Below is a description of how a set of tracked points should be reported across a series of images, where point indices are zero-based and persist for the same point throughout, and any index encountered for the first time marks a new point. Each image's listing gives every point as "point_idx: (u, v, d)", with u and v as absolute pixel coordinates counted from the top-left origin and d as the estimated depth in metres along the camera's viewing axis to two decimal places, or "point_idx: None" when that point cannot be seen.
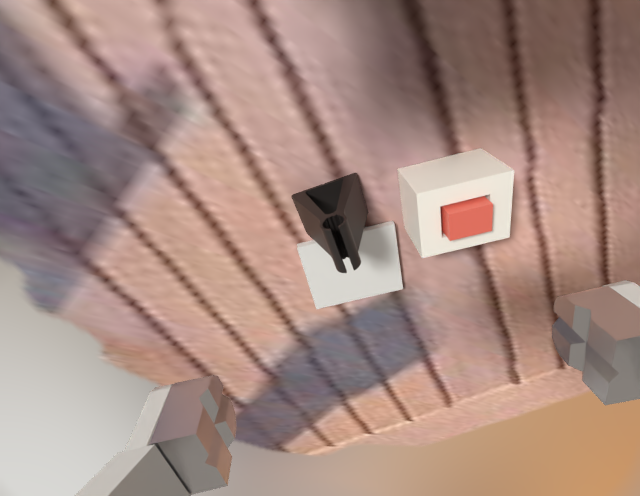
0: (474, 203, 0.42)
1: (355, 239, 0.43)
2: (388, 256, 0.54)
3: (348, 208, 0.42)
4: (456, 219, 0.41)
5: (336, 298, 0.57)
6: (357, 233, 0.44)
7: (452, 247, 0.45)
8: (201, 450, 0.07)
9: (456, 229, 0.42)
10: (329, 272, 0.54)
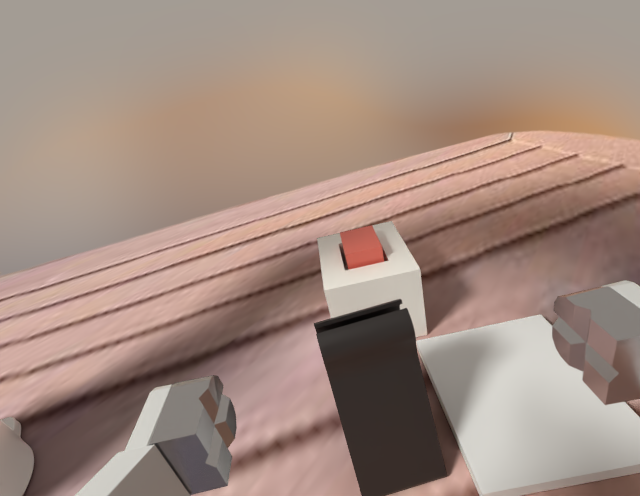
0: (343, 247, 0.39)
1: None
2: (476, 340, 0.34)
3: None
4: (353, 248, 0.36)
5: (612, 411, 0.26)
6: None
7: (403, 250, 0.37)
8: (201, 450, 0.07)
9: (366, 245, 0.36)
10: (537, 426, 0.26)
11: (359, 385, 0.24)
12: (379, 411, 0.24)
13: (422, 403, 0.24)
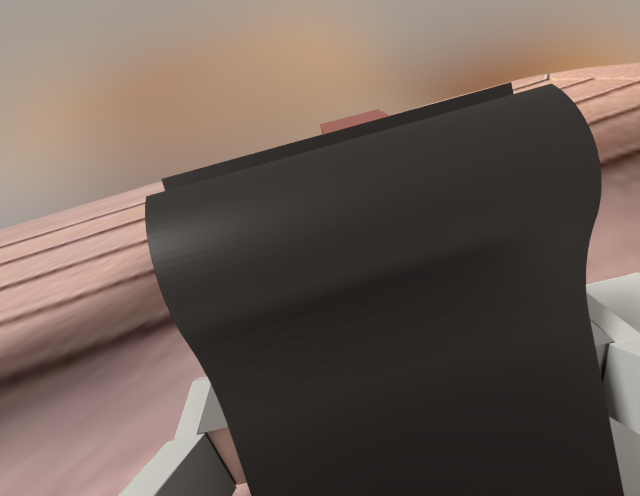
0: None
1: None
2: (606, 303, 0.16)
3: None
4: None
5: None
6: None
7: None
8: None
9: None
10: None
11: (349, 425, 0.06)
12: None
13: (597, 490, 0.06)
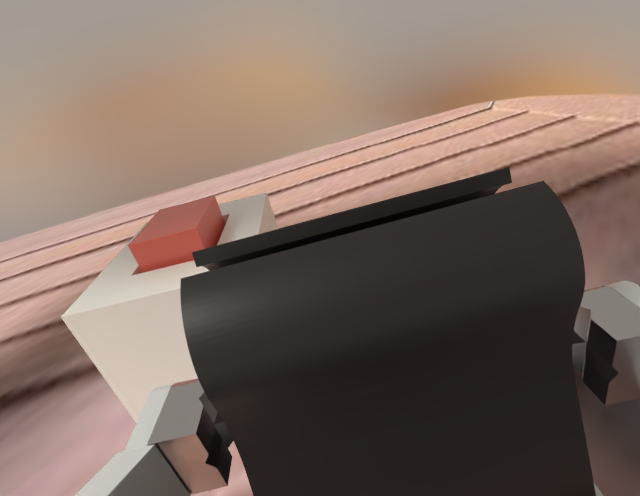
0: None
1: None
2: None
3: None
4: (150, 234, 0.19)
5: None
6: None
7: (248, 236, 0.20)
8: (201, 450, 0.07)
9: (174, 228, 0.19)
10: None
11: (354, 476, 0.06)
12: None
13: None
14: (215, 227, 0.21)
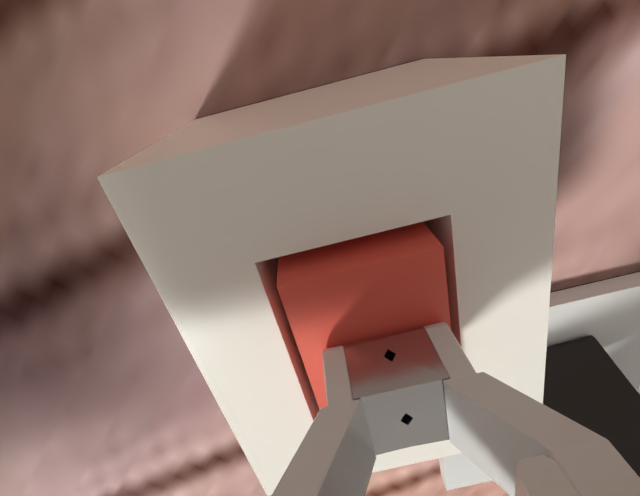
0: None
1: None
2: None
3: None
4: None
5: None
6: None
7: (527, 350, 0.10)
8: (402, 406, 0.07)
9: None
10: None
11: None
12: None
13: None
14: None
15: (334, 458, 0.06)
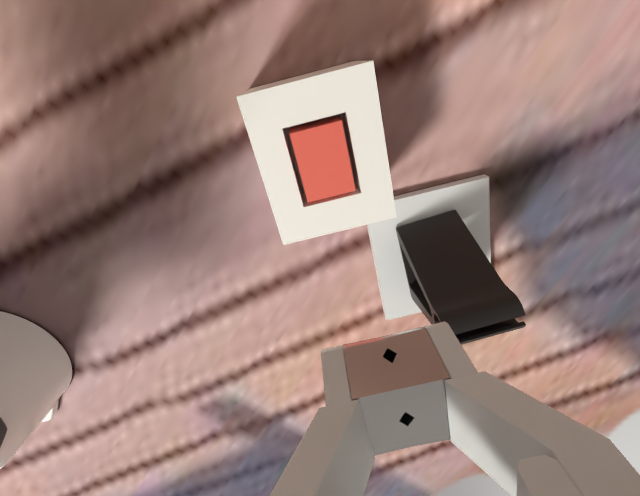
0: None
1: (480, 280, 0.30)
2: (419, 208, 0.36)
3: (431, 283, 0.31)
4: (316, 188, 0.26)
5: None
6: (474, 267, 0.31)
7: (382, 170, 0.26)
8: (400, 406, 0.07)
9: (334, 184, 0.26)
10: None
11: None
12: None
13: None
14: None
15: (333, 459, 0.06)
